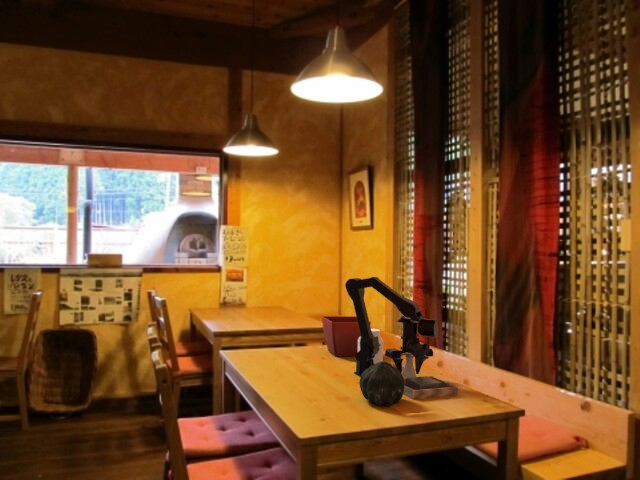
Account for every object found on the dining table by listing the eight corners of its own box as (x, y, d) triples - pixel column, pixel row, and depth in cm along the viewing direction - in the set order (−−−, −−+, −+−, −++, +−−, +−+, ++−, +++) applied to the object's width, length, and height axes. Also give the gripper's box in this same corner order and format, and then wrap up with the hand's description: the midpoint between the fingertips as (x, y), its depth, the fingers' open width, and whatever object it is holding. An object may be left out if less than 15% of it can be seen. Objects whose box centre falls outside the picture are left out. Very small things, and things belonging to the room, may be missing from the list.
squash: (379, 377, 190) (366, 349, 183) (417, 386, 181) (404, 358, 173) (361, 409, 182) (345, 382, 174) (399, 421, 173) (384, 393, 165)
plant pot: (370, 357, 250) (371, 321, 250) (331, 358, 245) (332, 322, 245) (356, 349, 268) (357, 316, 269) (320, 350, 263) (321, 316, 264)
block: (419, 395, 185) (419, 384, 185) (405, 388, 194) (405, 377, 194) (440, 393, 189) (441, 382, 189) (426, 387, 197) (426, 376, 197)
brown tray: (413, 401, 180) (413, 390, 180) (389, 389, 195) (390, 379, 195) (457, 397, 187) (457, 387, 187) (431, 385, 202) (431, 376, 202)
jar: (385, 365, 233) (386, 331, 234) (365, 367, 230) (366, 332, 230) (373, 360, 244) (374, 327, 244) (354, 361, 241) (355, 328, 241)
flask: (419, 380, 210) (420, 354, 210) (416, 384, 203) (417, 358, 203) (401, 378, 212) (401, 353, 212) (397, 382, 205) (398, 356, 205)
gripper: (400, 339, 197) (398, 381, 197) (442, 337, 204) (441, 378, 204) (385, 334, 207) (383, 374, 207) (425, 332, 214) (424, 371, 214)
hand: (408, 374), depth 208 cm, fingers open, 7 cm apart
